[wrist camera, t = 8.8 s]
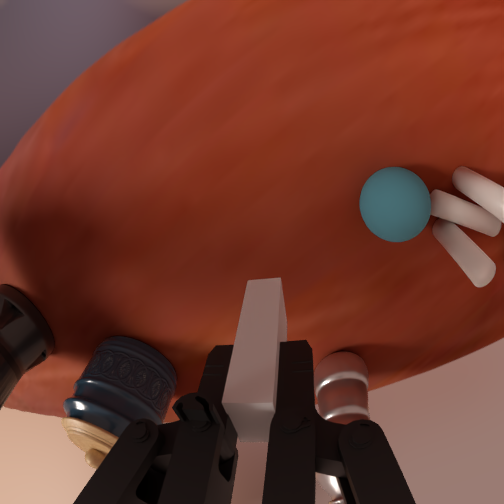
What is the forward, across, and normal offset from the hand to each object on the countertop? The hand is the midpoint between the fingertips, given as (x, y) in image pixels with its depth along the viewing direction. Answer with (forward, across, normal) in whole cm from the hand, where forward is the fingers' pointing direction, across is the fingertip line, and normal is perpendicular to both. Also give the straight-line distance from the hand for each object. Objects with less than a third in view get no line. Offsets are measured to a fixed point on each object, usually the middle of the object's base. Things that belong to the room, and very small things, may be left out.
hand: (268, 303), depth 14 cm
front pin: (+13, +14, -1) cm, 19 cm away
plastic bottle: (+14, +5, -21) cm, 26 cm away
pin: (+14, +18, +1) cm, 23 cm away
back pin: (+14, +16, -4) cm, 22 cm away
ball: (+11, +10, 0) cm, 15 cm away
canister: (+14, -23, -21) cm, 34 cm away
